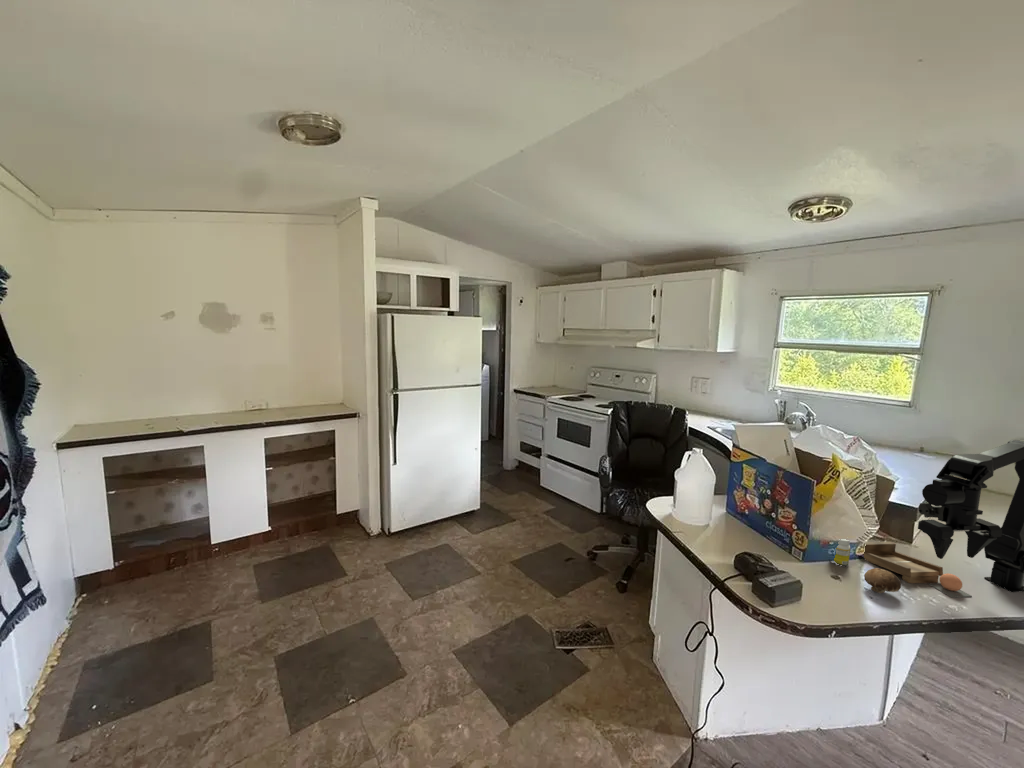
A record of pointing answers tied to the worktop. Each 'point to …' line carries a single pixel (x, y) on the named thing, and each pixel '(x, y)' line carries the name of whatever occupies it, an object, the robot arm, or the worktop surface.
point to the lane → (902, 563)
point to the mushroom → (882, 580)
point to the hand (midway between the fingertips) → (954, 557)
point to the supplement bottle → (842, 552)
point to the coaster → (950, 593)
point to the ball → (951, 582)
